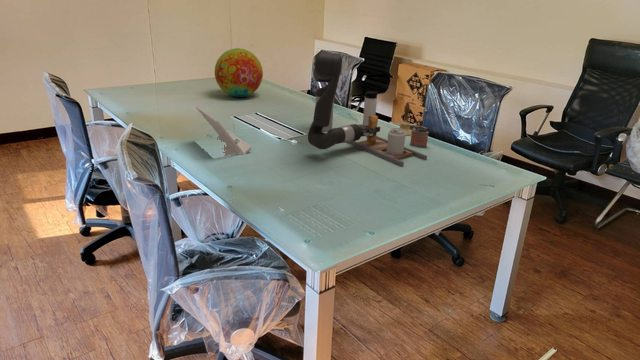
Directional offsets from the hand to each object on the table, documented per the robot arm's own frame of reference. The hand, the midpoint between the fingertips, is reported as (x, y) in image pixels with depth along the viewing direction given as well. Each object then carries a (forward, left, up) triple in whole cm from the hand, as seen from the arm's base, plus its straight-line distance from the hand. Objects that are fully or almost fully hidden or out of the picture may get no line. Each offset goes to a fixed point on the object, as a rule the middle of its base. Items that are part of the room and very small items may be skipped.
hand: (376, 128), depth 215 cm
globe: (-68, +94, -8) cm, 116 cm away
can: (+5, -15, -8) cm, 18 cm away
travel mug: (+2, +25, -8) cm, 26 cm away
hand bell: (+19, +17, -8) cm, 27 cm away
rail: (+2, -9, -8) cm, 12 cm away
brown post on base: (+2, -9, -8) cm, 12 cm away
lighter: (+20, -3, -8) cm, 22 cm away
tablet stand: (-71, -3, -8) cm, 72 cm away
